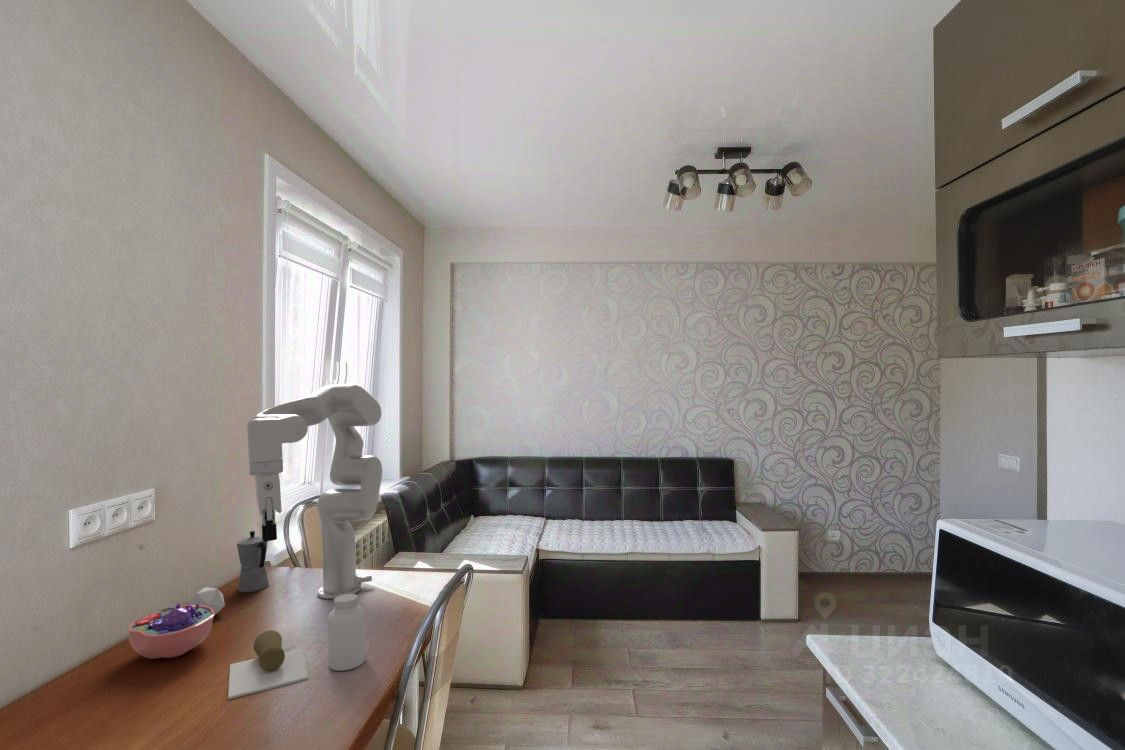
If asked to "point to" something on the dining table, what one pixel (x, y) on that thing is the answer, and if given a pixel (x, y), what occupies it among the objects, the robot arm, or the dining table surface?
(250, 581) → the coffeepot
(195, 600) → the die
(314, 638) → the dining table surface
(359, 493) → the robot arm
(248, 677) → the mat
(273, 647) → the cork
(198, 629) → the cell model
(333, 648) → the pill bottle
